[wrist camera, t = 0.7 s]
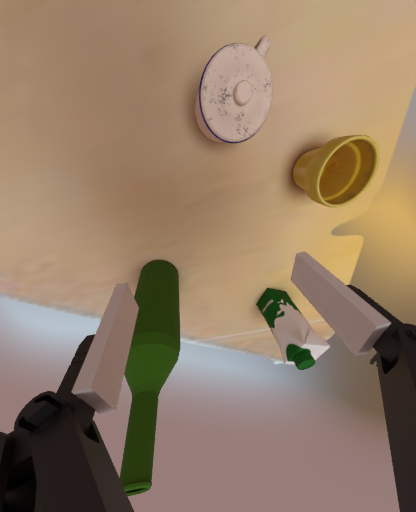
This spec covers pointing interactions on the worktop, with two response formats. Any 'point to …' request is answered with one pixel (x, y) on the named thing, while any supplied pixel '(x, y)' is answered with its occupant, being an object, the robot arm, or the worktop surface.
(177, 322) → the wine bottle
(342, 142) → the plant pot
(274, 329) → the milk carton
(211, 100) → the teacup with lid
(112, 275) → the worktop surface
